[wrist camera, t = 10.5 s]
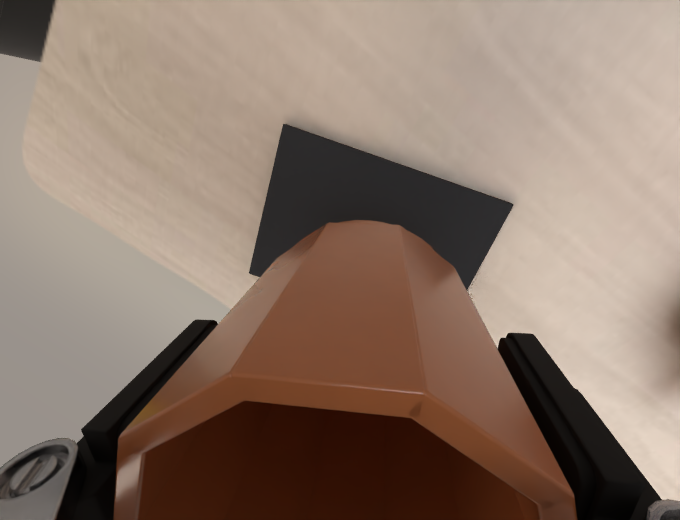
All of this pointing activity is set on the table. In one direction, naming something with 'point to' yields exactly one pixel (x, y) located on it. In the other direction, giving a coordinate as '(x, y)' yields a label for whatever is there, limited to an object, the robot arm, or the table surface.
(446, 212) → the rubber mat
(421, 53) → the table surface
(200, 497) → the terracotta pot
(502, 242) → the table surface
